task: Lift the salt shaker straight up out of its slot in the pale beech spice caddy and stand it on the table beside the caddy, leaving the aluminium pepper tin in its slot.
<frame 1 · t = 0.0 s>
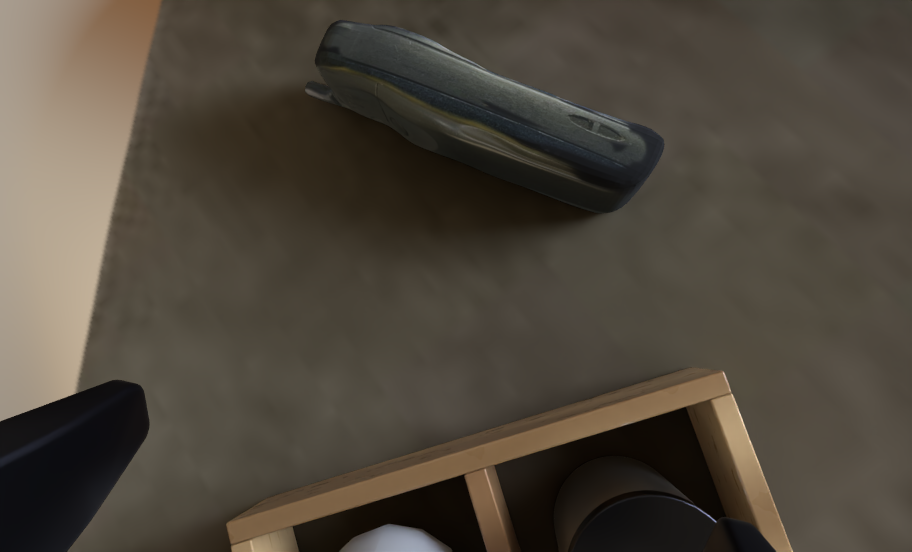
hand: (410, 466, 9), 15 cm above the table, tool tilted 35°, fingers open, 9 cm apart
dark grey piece: (468, 138, 25), on the table
pepper tin: (617, 520, 22), resting in spice caddy
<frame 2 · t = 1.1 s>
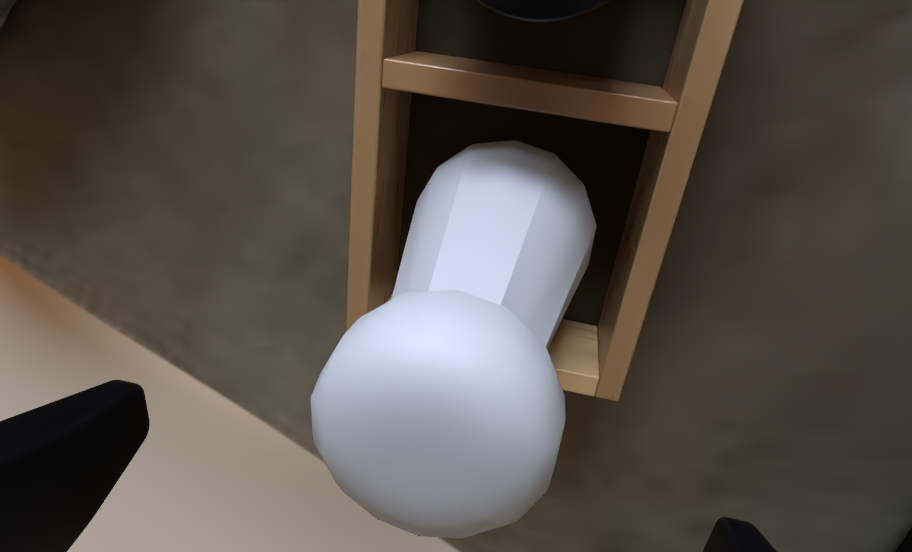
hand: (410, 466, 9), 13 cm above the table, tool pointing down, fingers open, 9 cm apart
salt shaker: (511, 206, 20), resting in spice caddy
spice caddy: (533, 81, 18), on the table
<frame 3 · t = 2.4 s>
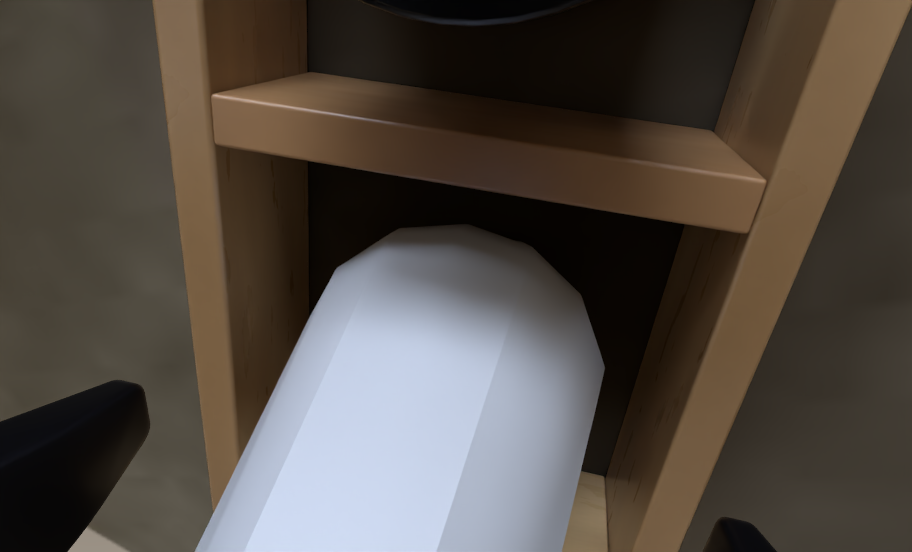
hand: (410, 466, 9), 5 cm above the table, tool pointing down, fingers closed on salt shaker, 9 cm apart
salt shaker: (473, 306, 13), resting in spice caddy, touching gripper
spice caddy: (498, 119, 11), on the table
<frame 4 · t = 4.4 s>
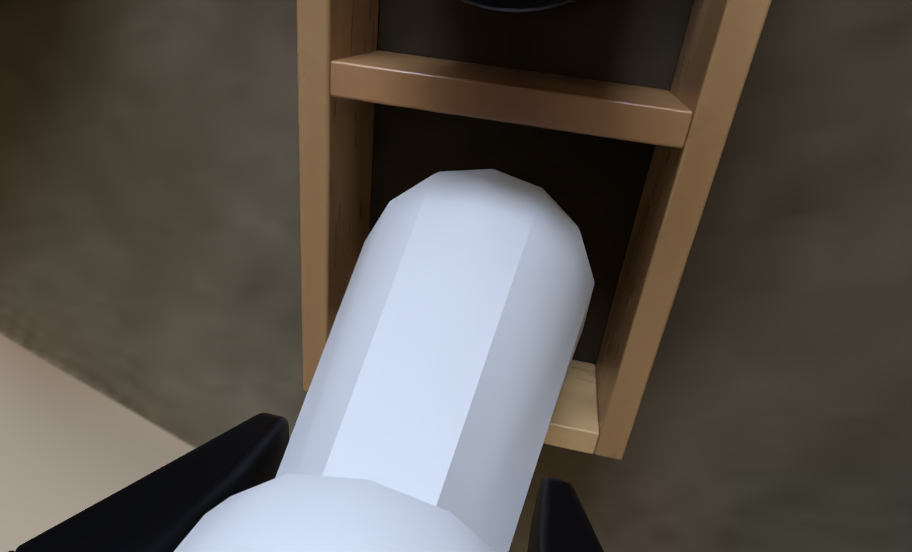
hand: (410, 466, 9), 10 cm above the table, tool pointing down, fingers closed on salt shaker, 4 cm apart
salt shaker: (489, 243, 16), point 1 cm above the table, touching gripper
spice caddy: (516, 84, 15), on the table
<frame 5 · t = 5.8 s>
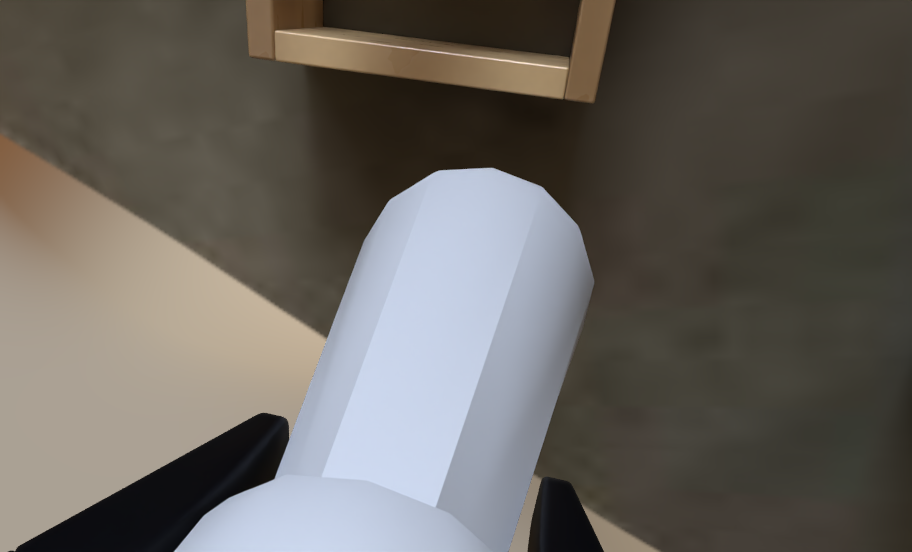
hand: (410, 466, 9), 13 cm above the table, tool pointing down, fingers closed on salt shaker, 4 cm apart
salt shaker: (488, 242, 16), point 4 cm above the table, touching gripper
when the fingers open (6 cm above the table, at t = 8.2 s): salt shaker stays where it is, on the table.
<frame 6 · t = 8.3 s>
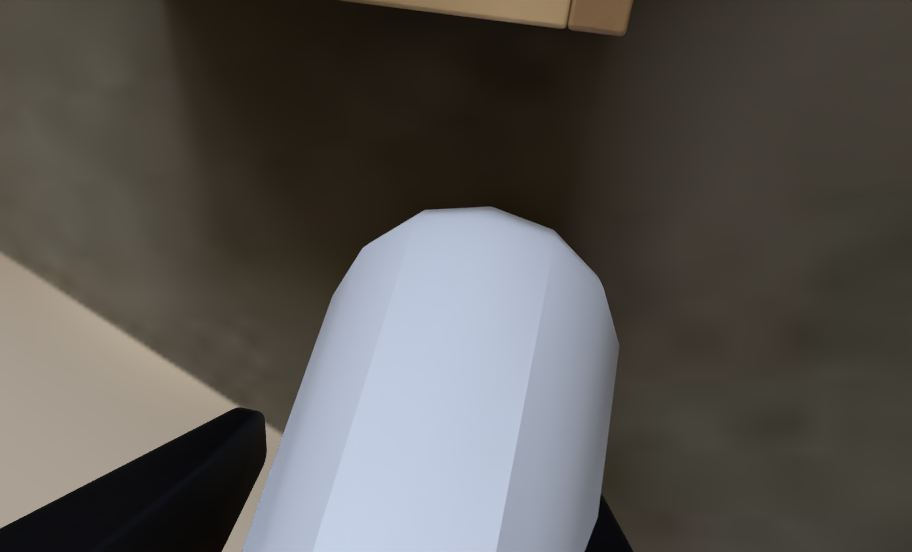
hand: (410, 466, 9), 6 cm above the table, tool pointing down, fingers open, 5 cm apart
salt shaker: (484, 288, 14), on the table, touching gripper
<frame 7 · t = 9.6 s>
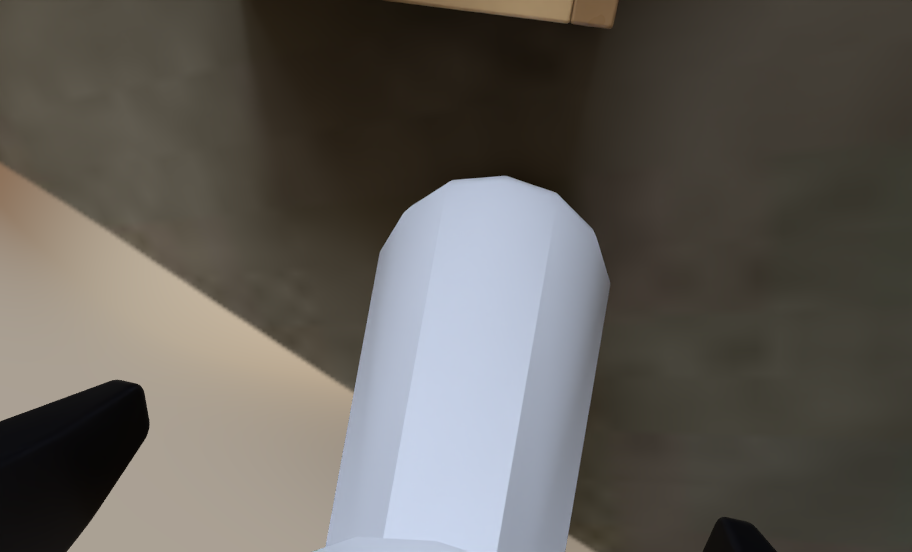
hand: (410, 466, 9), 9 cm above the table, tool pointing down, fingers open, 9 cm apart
salt shaker: (499, 241, 16), on the table
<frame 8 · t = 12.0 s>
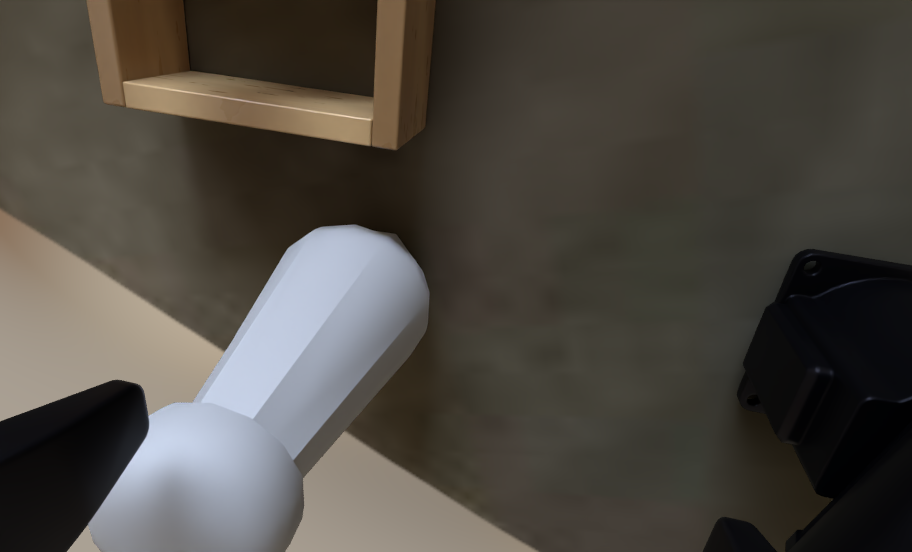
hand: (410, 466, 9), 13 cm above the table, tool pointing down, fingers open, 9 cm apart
salt shaker: (374, 272, 23), on the table
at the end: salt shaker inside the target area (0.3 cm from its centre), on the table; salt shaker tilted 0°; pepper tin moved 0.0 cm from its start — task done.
